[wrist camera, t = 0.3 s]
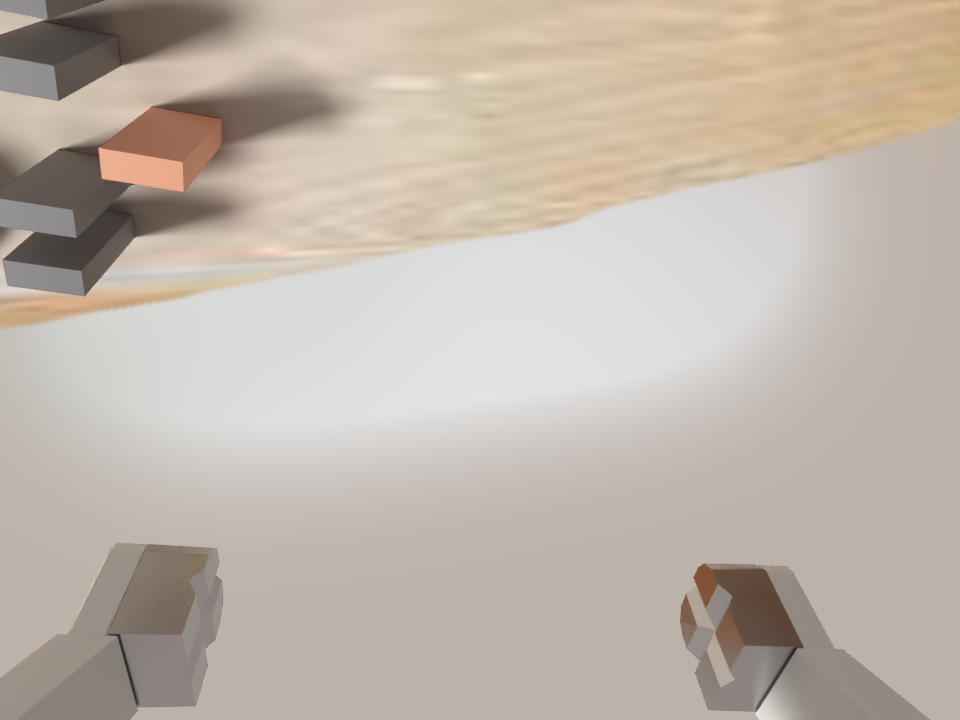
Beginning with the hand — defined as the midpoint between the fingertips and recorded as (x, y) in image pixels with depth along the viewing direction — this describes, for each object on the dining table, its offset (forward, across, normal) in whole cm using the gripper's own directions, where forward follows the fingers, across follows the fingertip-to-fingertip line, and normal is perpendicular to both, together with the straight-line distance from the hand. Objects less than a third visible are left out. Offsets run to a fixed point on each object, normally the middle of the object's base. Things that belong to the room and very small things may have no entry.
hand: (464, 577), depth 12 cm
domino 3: (+47, +25, +2) cm, 53 cm away
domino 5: (+47, +26, +11) cm, 54 cm away
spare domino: (+47, +18, +7) cm, 51 cm away
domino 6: (+47, +26, +16) cm, 56 cm away
